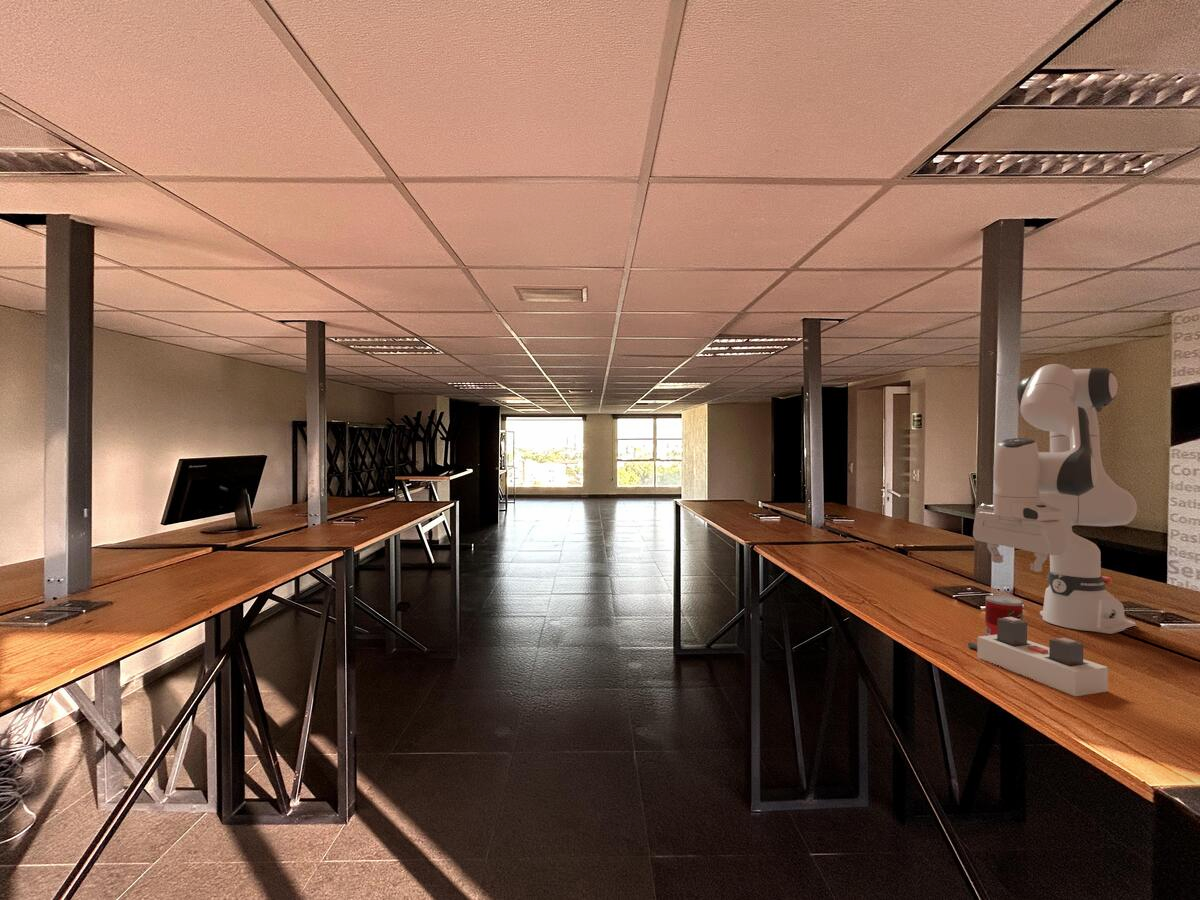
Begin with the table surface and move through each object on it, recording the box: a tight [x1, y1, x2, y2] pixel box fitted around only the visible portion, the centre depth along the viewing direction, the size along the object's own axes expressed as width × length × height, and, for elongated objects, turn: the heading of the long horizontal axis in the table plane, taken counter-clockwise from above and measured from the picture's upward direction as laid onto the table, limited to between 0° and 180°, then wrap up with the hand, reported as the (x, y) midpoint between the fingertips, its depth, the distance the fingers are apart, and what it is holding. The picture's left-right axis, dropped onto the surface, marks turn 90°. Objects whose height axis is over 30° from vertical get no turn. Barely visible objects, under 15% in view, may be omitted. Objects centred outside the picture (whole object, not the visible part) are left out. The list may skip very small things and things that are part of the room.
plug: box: [997, 617, 1028, 647], centre depth 133 cm, size 4×4×8 cm
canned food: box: [984, 594, 1024, 636], centre depth 148 cm, size 8×8×11 cm
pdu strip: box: [967, 635, 1109, 697], centre depth 131 cm, size 9×28×9 cm, turn 15°
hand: (1016, 566), depth 135 cm, fingers open, 8 cm apart
